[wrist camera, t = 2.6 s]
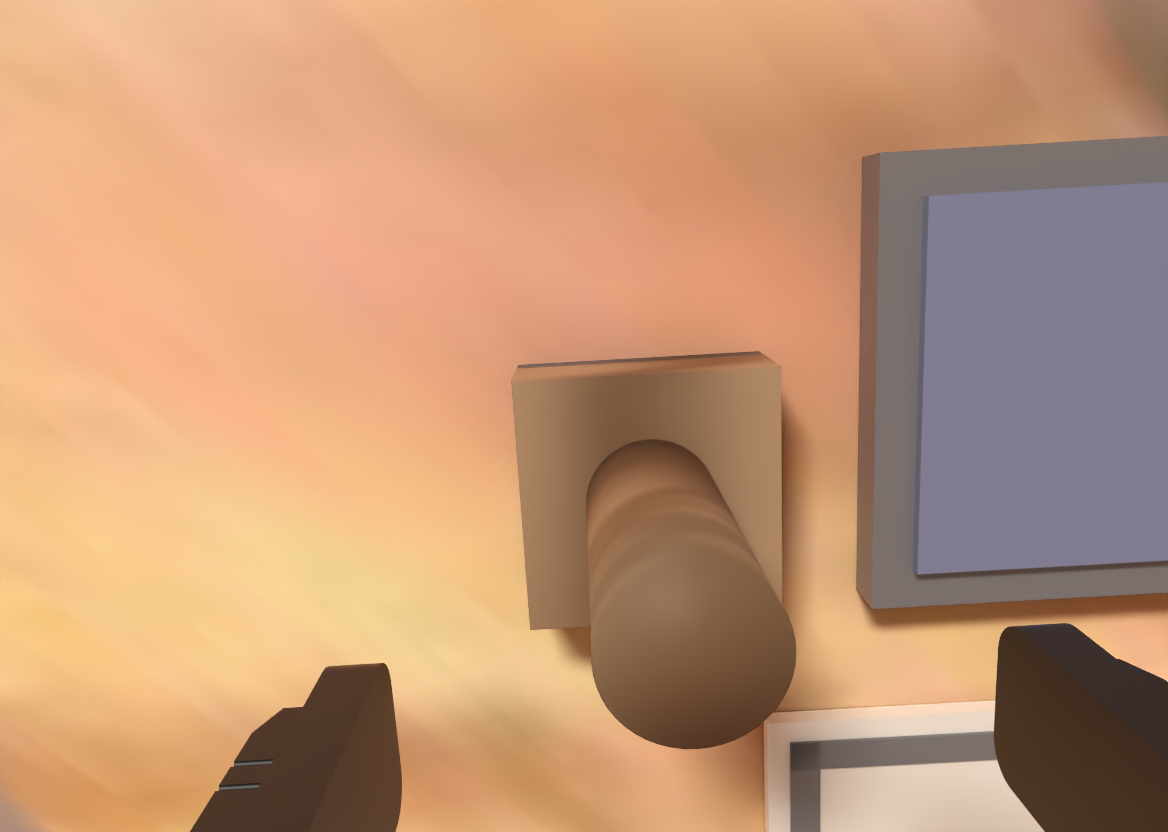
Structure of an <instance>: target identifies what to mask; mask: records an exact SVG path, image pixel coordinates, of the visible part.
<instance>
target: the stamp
mask: <svg viewBox="0 0 1168 832" xmlns="http://www.w3.org/2000/svg"><path fill="white" fill-rule="evenodd" d="M511 383H512V396H513V410H514V423H515V436H516V449H517V462H518V475H519V488H520V501H521V514H522V528H523V541H524V554H525V567H526V580H527V593H528V606H529V619H530V630H538V629H556V628H574V627H590V630H591V659H592V670H593V677H594V680H595V684H596V687H597V690H598V692H599V694H600V696H601V699H602V700H603V702H604V703H605V705H606V707H607V708H608V710H609V711H610V712H611V713H612V714H613V716H614V717H615V718H616V719H617V720H618V721H619V722H620V723H621V724H622V725H624V726H625V727H626V728H627V729H629V730H630V731H632V732H633V733H635V734H636V735H638V736H640V737H642V738H644V739H646V740H648V741H651V742H653V743H656V744H659V745H663V746H667V747H672V748H680V749H701V748H710V747H714V746H718V745H722V744H725V743H728V742H731V741H734V740H736V739H738V738H740V737H742V736H744V735H746V734H747V733H749V732H751V731H752V730H754V729H755V728H757V727H758V726H759V725H760V724H761V723H763V722H764V721H765V720H766V719H767V718H768V717H769V716H770V715H771V714H772V713H773V712H774V711H775V709H776V708H777V707H778V705H779V704H780V702H781V701H782V699H783V698H784V696H785V694H786V692H787V690H788V688H789V685H790V683H791V680H792V677H793V673H794V668H795V661H796V644H795V637H794V632H793V628H792V625H791V623H790V620H789V617H788V615H787V613H786V612H785V610H784V608H783V606H782V444H781V366H780V365H778V364H777V363H775V362H774V361H772V360H771V359H769V358H768V357H766V356H765V355H763V354H762V353H760V352H759V351H757V352H739V353H722V354H704V355H687V356H669V357H652V358H634V359H616V360H599V361H581V362H564V363H546V364H529V365H518V367H517V370H516V372H515V374H514V377H513V379H512V381H511Z"/></svg>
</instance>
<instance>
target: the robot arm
mask: <svg viewBox="0 0 1168 832" xmlns="http://www.w3.org/2000/svg"><path fill="white" fill-rule="evenodd" d="M994 746H995V752H996V757H997V761H998V764H999V767H1000V770H1001V772H1002V775H1003V777H1004V779H1005V781H1006V782H1007V784H1008V786H1009V787H1010V789H1011V790H1012V791H1013V792H1014V794H1015V795H1016V796H1017V798H1018V799H1019V800H1020V801H1021V803H1022V804H1023V805H1024V806H1025V808H1026V809H1027V810H1028V811H1029V813H1030V814H1031V815H1032V816H1033V818H1034V819H1035V820H1036V821H1037V823H1038V824H1039V825H1040V827H1041V828H1042V829H1043V830H1044V832H1168V682H1167V681H1165V680H1164V679H1162V678H1160V677H1158V676H1155V675H1153V674H1151V673H1149V672H1147V671H1144V670H1142V669H1140V668H1138V667H1136V666H1133V665H1131V664H1129V663H1127V662H1125V661H1123V660H1120V659H1116V658H1114V657H1113V656H1112V655H1111V654H1109V653H1108V652H1107V651H1105V650H1104V649H1103V648H1102V647H1100V646H1099V645H1098V644H1096V643H1095V642H1094V641H1093V640H1091V639H1090V638H1089V637H1087V636H1086V635H1085V634H1084V633H1082V632H1081V631H1080V630H1079V629H1077V628H1076V627H1074V626H1073V625H1071V624H1068V623H1061V624H1045V625H1028V626H1012V627H1007V628H1006V629H1005V630H1004V631H1003V632H1002V634H1001V637H1000V640H999V646H998V662H997V681H996V699H995V717H994ZM401 795H402V775H401V764H400V755H399V746H398V738H397V729H396V721H395V712H394V703H393V695H392V686H391V679H390V674H389V670H388V668H387V666H386V664H384V663H376V664H360V665H343V666H328V667H326V668H325V669H324V671H323V672H322V674H321V676H320V678H319V679H318V681H317V683H316V685H315V687H314V688H313V690H312V692H311V694H310V696H309V697H308V699H307V701H306V703H305V705H304V706H303V707H296V708H283V709H282V710H281V711H279V712H278V713H277V714H276V715H274V716H273V717H272V718H270V719H269V720H268V721H267V722H265V723H264V724H263V725H262V726H260V727H259V728H258V729H257V730H255V731H254V732H253V733H252V734H251V735H250V737H249V739H248V740H247V742H246V743H245V745H244V747H243V748H242V750H241V751H240V753H239V755H238V756H237V758H236V759H235V761H234V767H230V769H229V770H228V772H227V774H226V775H225V777H224V778H223V780H222V782H221V783H220V785H219V791H215V793H214V794H213V796H212V797H211V799H210V801H209V802H208V804H207V805H206V807H205V809H204V810H203V812H202V813H201V815H200V817H199V818H198V820H197V821H196V823H195V825H194V826H193V828H192V829H191V831H190V832H395V831H396V828H397V824H398V820H399V815H400V808H401Z"/></svg>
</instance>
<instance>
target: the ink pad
mask: <svg viewBox="0 0 1168 832" xmlns="http://www.w3.org/2000/svg"><path fill="white" fill-rule="evenodd" d="M856 589H857V591H858V592H859V593H860V595H861V596H862V597H863V598H864V600H865V601H866V602H867V604H868V605H869V606H870V608H871V609H884V608H901V607H919V606H937V605H955V604H973V603H991V602H1009V601H1027V600H1045V599H1063V598H1080V597H1098V596H1116V595H1134V594H1152V593H1168V136H1159V137H1142V138H1125V139H1108V140H1091V141H1073V142H1056V143H1039V144H1022V145H1005V146H988V147H971V148H954V149H937V150H920V151H903V152H885V153H877V154H873V155H870V156H866V157H862V219H861V291H860V363H859V435H858V507H857V579H856Z"/></svg>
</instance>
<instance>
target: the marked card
mask: <svg viewBox="0 0 1168 832" xmlns="http://www.w3.org/2000/svg"><path fill="white" fill-rule="evenodd" d="M994 717H995V700H992V701H974V702H956V703H938V704H920V705H902V706H884V707H866V708H848V709H830V710H812V711H794V712H776V713H772V714H771V715H770V716H769V717H768V718H767V719H766V720H765V721H764V795H765V832H1044V830H1043V829H1042V828H1041V827H1040V825H1039V824H1038V823H1037V821H1036V820H1035V819H1034V818H1033V816H1032V815H1031V814H1030V813H1029V811H1028V810H1027V809H1026V808H1025V806H1024V805H1023V804H1022V803H1021V801H1020V800H1019V799H1018V798H1017V796H1016V795H1015V794H1014V792H1013V791H1012V790H1011V789H1010V787H1009V786H1008V784H1007V782H1006V781H1005V779H1004V777H1003V775H1002V772H1001V770H1000V767H999V764H998V761H997V757H996V752H995V746H994Z"/></svg>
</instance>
